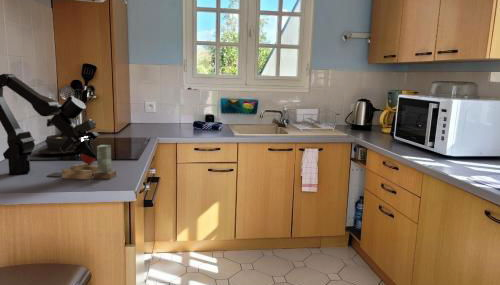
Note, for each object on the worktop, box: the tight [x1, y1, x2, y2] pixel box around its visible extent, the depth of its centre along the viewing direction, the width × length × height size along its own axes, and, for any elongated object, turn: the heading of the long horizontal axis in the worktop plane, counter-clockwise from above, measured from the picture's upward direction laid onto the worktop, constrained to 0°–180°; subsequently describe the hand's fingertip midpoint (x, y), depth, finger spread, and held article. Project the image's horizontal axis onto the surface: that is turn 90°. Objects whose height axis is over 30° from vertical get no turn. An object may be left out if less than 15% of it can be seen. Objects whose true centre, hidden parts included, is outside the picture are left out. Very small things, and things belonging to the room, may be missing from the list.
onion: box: [80, 153, 97, 166], centre depth 164 cm, size 6×6×8 cm
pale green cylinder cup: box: [92, 144, 117, 180], centre depth 144 cm, size 7×5×12 cm
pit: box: [46, 172, 62, 178], centre depth 145 cm, size 5×5×1 cm
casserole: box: [37, 133, 78, 156], centre depth 189 cm, size 25×19×8 cm
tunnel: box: [61, 162, 98, 180], centre depth 145 cm, size 11×8×4 cm
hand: (96, 157), depth 144 cm, fingers closed
